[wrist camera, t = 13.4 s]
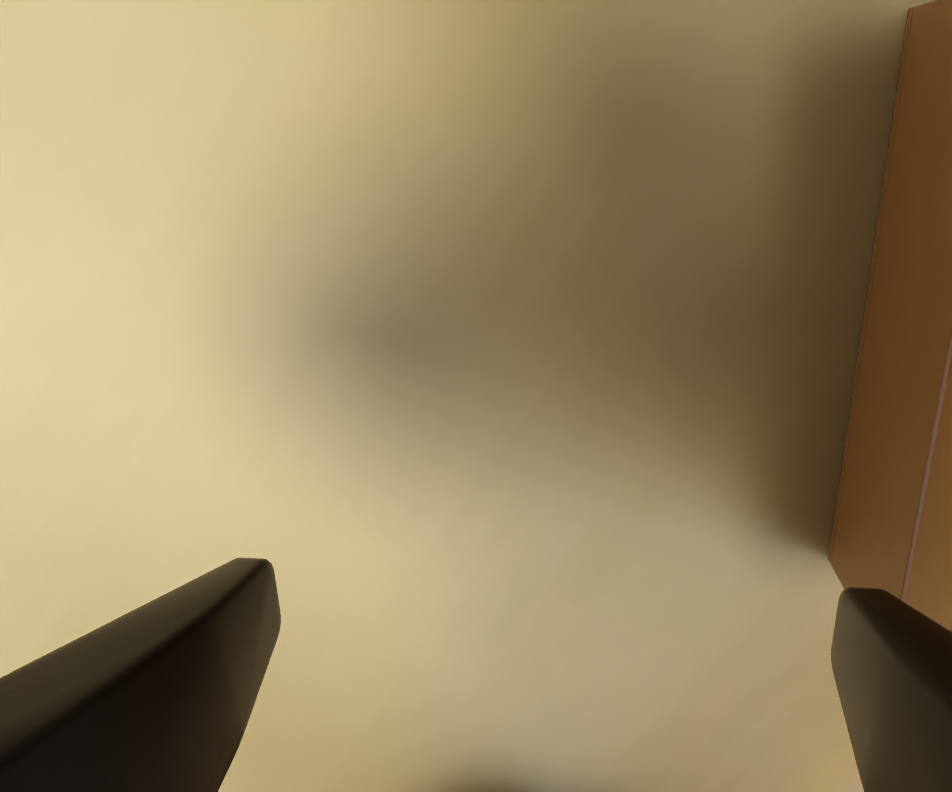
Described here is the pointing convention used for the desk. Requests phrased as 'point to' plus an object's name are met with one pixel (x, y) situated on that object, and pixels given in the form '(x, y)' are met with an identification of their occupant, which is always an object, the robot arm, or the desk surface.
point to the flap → (936, 529)
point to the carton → (902, 324)
